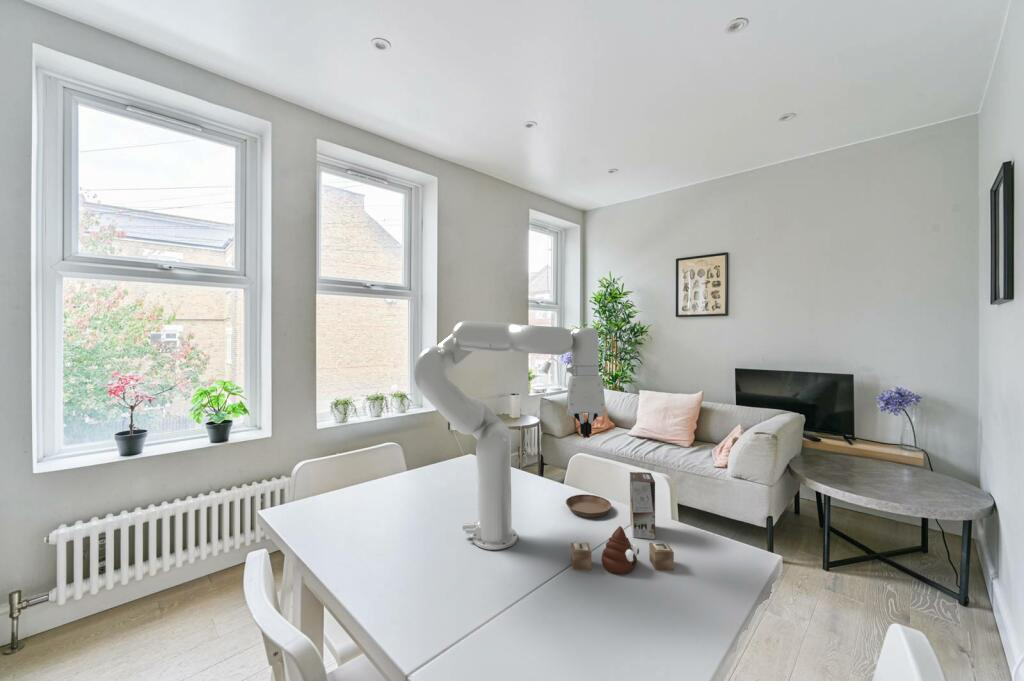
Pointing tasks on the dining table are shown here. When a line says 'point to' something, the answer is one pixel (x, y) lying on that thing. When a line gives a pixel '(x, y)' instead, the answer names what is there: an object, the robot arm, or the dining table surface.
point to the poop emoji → (619, 553)
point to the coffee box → (642, 505)
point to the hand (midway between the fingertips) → (585, 436)
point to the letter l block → (661, 556)
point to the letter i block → (581, 556)
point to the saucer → (588, 505)
